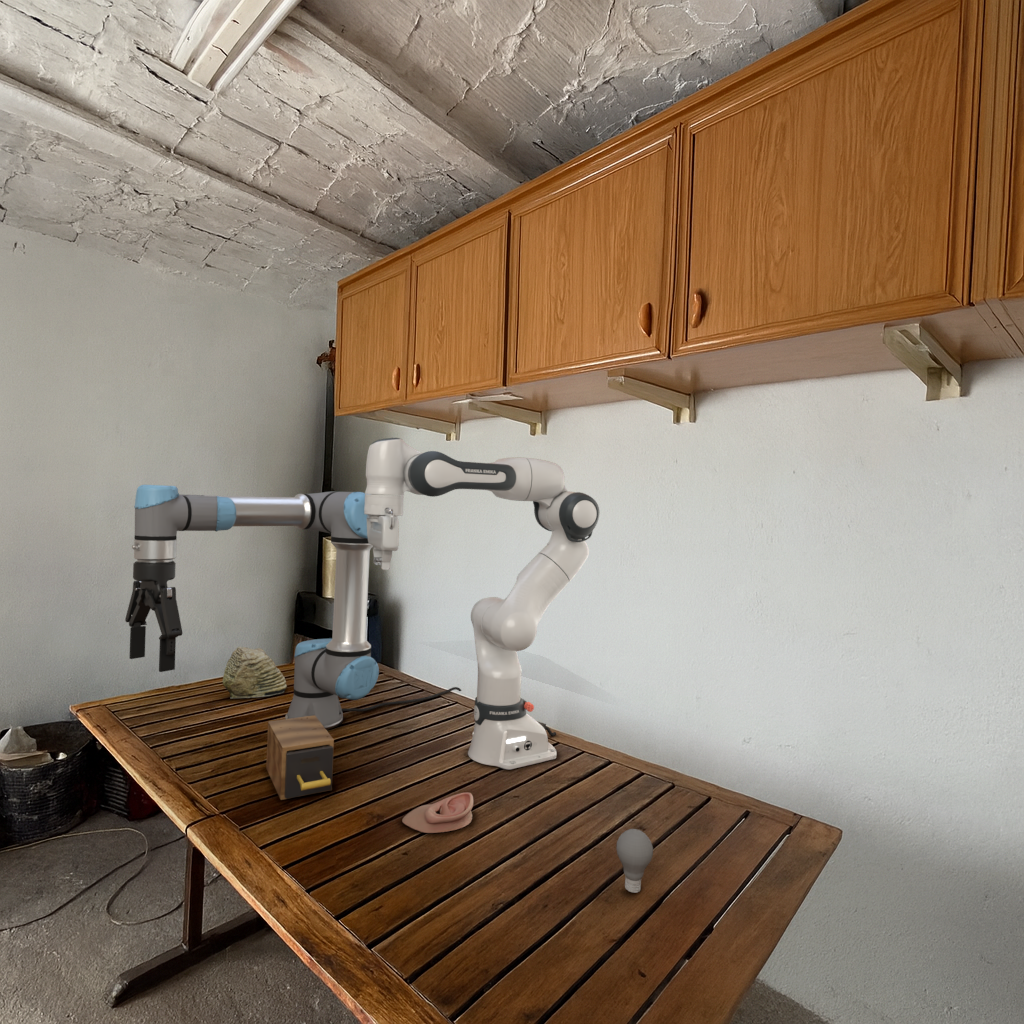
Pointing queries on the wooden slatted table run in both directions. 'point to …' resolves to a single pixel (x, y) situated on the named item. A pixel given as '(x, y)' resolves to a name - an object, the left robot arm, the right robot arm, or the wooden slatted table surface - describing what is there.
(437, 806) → the anatomical model
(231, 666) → the fossil
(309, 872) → the wooden slatted table surface
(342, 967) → the wooden slatted table surface
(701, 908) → the wooden slatted table surface
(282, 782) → the cabinet
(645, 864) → the light bulb
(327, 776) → the drawer
